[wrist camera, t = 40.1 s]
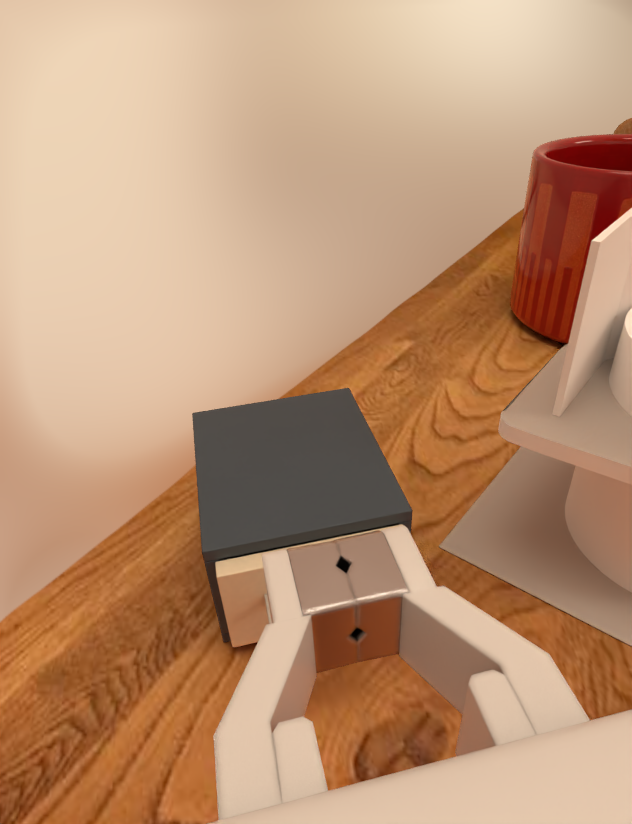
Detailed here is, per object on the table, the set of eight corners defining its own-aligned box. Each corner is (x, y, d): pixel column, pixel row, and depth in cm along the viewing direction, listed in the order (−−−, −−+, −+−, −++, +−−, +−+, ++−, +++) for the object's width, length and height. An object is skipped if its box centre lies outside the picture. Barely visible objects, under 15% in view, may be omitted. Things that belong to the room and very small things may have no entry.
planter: (547, 273, 87) (574, 129, 76) (719, 307, 75) (782, 140, 63) (478, 328, 73) (498, 161, 62) (675, 381, 61) (747, 183, 49)
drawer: (429, 666, 34) (436, 593, 30) (239, 712, 33) (222, 641, 29) (351, 479, 49) (349, 414, 45) (216, 504, 47) (203, 438, 43)
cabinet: (406, 601, 39) (412, 510, 34) (223, 642, 37) (201, 552, 32) (350, 469, 51) (348, 387, 46) (209, 495, 49) (192, 412, 44)
